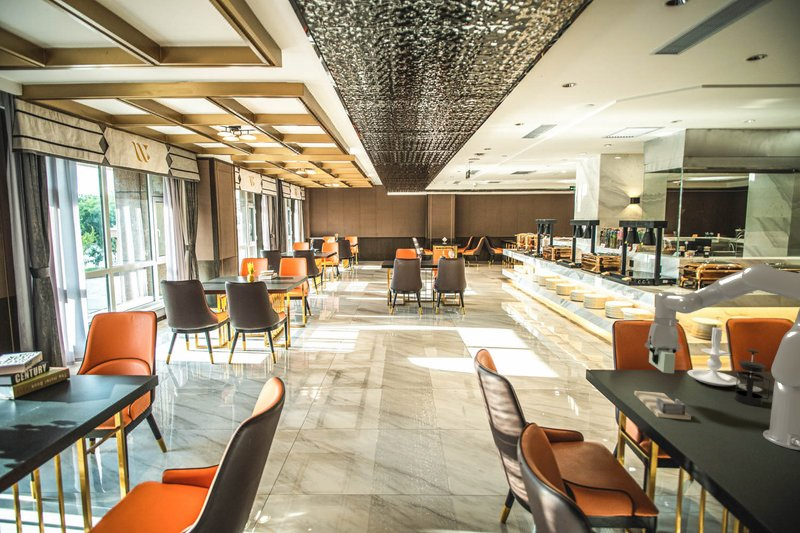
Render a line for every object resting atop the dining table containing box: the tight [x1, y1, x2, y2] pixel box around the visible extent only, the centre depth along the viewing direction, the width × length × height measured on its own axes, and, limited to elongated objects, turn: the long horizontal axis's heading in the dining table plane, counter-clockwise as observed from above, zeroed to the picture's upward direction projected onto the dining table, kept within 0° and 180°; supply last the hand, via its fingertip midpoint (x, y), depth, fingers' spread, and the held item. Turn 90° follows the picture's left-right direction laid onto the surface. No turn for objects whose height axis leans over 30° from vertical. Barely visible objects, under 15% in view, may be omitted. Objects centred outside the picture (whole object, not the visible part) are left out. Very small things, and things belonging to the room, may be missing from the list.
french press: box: [734, 349, 771, 407], centre depth 177 cm, size 12×9×23 cm
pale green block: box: [648, 345, 676, 374], centre depth 174 cm, size 14×4×8 cm, turn 170°
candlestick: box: [686, 327, 741, 387], centre depth 201 cm, size 21×25×28 cm
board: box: [634, 390, 692, 421], centre depth 173 cm, size 23×12×6 cm, turn 171°
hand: (661, 363), depth 175 cm, fingers closed on pale green block, 4 cm apart
